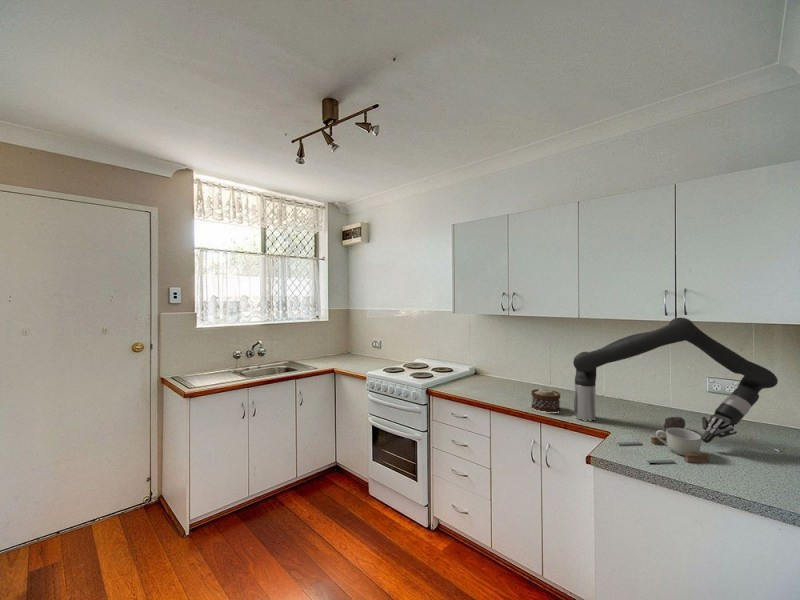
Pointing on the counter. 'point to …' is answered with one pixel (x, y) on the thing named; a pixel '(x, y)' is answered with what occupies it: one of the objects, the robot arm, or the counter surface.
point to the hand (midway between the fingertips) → (704, 440)
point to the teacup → (681, 440)
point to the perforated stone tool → (674, 423)
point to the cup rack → (687, 456)
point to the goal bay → (651, 460)
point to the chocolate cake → (545, 400)
